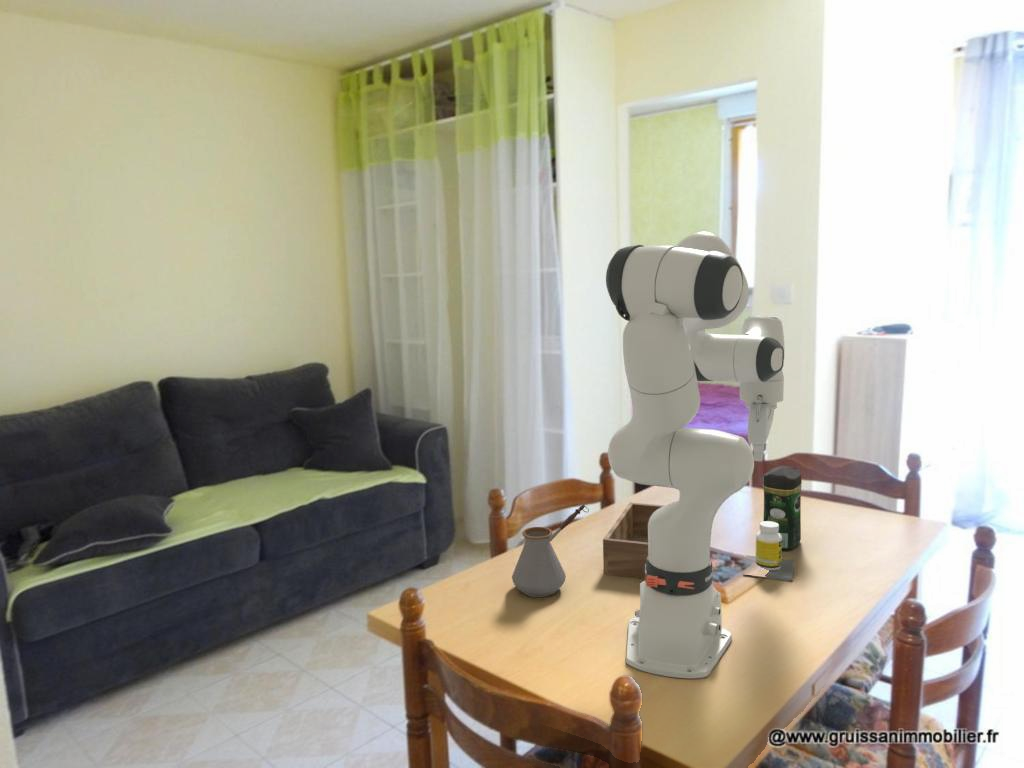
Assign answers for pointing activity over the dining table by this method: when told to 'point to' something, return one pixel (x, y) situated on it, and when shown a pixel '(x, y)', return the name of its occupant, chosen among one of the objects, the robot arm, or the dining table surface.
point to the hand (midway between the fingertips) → (760, 455)
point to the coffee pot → (540, 561)
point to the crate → (628, 542)
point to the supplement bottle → (768, 546)
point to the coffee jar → (784, 503)
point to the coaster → (780, 570)
